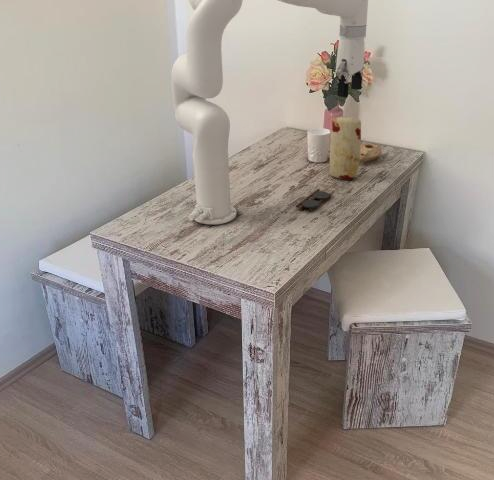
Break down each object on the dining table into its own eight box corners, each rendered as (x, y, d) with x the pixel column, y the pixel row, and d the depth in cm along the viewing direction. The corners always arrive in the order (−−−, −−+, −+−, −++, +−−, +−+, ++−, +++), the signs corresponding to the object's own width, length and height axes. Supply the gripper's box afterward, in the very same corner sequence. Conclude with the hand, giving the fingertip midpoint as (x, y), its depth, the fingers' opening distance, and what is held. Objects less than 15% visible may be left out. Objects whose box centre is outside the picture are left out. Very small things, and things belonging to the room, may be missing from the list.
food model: (326, 179, 187) (328, 117, 176) (332, 172, 192) (335, 112, 181) (355, 183, 184) (360, 121, 173) (360, 176, 189) (365, 115, 178)
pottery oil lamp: (348, 164, 197) (346, 143, 197) (364, 165, 207) (362, 145, 206) (371, 159, 192) (369, 138, 191) (386, 161, 202) (384, 140, 201)
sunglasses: (312, 213, 165) (312, 209, 164) (295, 209, 167) (295, 205, 167) (333, 196, 175) (333, 192, 174) (317, 192, 178) (317, 188, 177)
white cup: (327, 164, 198) (328, 135, 193) (305, 162, 200) (305, 134, 194) (330, 156, 205) (331, 128, 200) (308, 154, 206) (309, 127, 201)
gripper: (353, 26, 172) (350, 85, 181) (327, 35, 160) (325, 98, 169) (376, 27, 169) (372, 87, 178) (352, 37, 156) (349, 101, 166)
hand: (349, 92), depth 173 cm, fingers open, 9 cm apart
